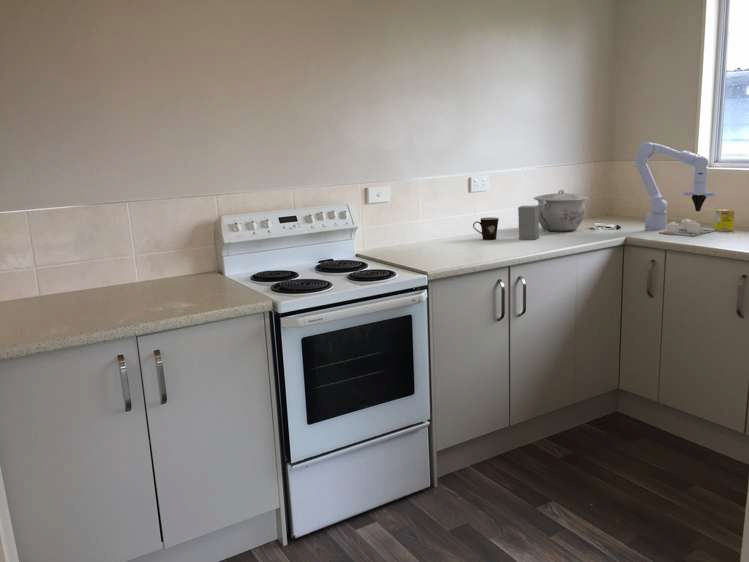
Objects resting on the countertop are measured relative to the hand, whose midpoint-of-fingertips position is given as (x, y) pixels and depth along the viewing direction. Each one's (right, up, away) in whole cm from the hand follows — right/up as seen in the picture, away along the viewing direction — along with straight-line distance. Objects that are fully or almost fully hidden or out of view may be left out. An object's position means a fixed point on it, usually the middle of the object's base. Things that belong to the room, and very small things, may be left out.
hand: (697, 211), depth 318 cm
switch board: (-7, -12, -5) cm, 15 cm away
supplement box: (+11, -11, -2) cm, 16 cm away
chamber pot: (-59, -7, +25) cm, 65 cm away
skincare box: (-82, -14, -1) cm, 83 cm away
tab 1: (-15, -11, -7) cm, 20 cm away
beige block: (-6, -11, -8) cm, 15 cm away
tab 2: (-5, -9, +2) cm, 10 cm away
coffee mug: (-101, -13, +2) cm, 102 cm away
